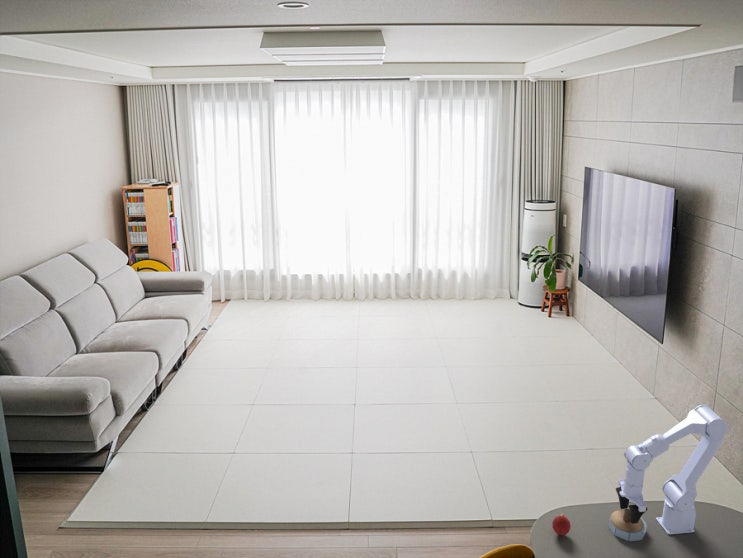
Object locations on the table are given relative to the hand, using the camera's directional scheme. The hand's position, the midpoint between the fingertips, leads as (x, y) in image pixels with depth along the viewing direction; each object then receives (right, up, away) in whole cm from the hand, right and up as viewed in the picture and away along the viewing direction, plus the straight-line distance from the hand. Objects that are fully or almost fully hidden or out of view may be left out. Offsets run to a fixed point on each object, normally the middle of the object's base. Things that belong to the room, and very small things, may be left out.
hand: (628, 515), depth 216 cm
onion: (-23, -6, 0) cm, 24 cm away
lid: (0, -2, +1) cm, 3 cm away
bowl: (0, -5, +2) cm, 6 cm away
